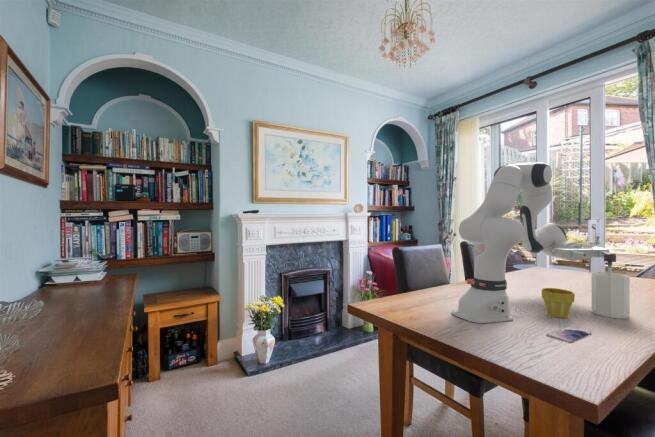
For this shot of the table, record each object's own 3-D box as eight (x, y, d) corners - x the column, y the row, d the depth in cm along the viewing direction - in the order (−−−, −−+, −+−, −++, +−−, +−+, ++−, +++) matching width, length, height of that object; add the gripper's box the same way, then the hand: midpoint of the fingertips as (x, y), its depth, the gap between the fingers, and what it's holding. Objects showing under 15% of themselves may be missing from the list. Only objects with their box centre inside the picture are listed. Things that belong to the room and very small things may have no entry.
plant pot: (581, 320, 111) (581, 294, 111) (549, 319, 113) (549, 293, 113) (564, 312, 121) (564, 288, 121) (536, 310, 123) (536, 287, 123)
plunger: (617, 312, 113) (617, 255, 113) (593, 307, 120) (592, 253, 120) (627, 310, 116) (627, 254, 116) (603, 305, 123) (602, 252, 123)
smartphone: (592, 333, 99) (570, 342, 91) (592, 335, 99) (570, 345, 91) (567, 325, 105) (545, 334, 98) (567, 328, 105) (545, 336, 98)
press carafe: (620, 320, 111) (620, 277, 111) (586, 312, 121) (586, 273, 121) (637, 315, 117) (637, 274, 117) (604, 308, 126) (604, 270, 126)
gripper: (547, 244, 139) (570, 247, 125) (593, 244, 138) (620, 247, 124) (547, 257, 139) (570, 262, 125) (593, 257, 138) (621, 262, 124)
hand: (595, 254), depth 125 cm, fingers open, 8 cm apart
